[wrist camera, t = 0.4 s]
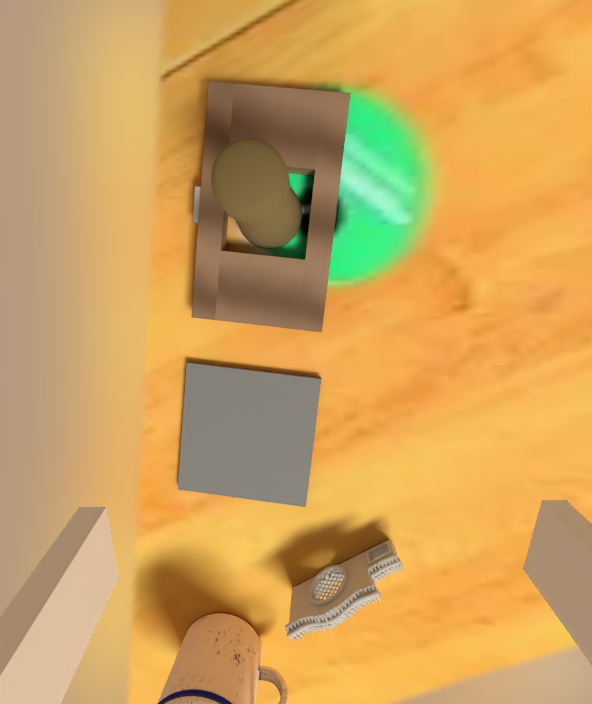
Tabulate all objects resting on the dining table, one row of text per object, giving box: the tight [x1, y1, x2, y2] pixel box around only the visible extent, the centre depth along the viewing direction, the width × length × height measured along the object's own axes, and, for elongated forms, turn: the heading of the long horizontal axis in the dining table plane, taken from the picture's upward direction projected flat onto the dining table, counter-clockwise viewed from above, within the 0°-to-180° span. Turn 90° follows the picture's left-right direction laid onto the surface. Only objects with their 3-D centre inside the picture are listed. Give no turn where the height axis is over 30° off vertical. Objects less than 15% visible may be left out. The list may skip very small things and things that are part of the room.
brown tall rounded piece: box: [211, 137, 302, 249], centre depth 28 cm, size 6×6×11 cm
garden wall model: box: [285, 539, 404, 641], centre depth 35 cm, size 12×2×6 cm, turn 121°
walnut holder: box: [192, 81, 350, 332], centre depth 33 cm, size 20×13×2 cm, turn 174°
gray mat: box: [178, 362, 321, 507], centre depth 36 cm, size 13×13×1 cm
